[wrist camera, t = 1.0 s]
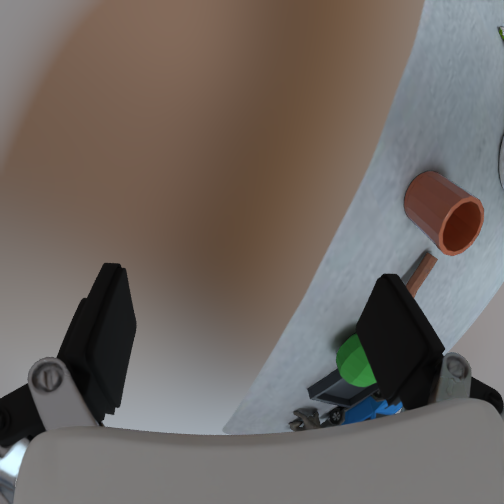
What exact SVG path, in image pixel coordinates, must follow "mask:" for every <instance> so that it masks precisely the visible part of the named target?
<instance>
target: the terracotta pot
mask: <svg viewBox="0 0 504 504" xmlns="http://www.w3.org/2000/svg"><path fill="white" fill-rule="evenodd" d="M404 208H405V212H406V215H407V216H408V218H409V219H410V220H411V221H412V222H413V223H414V224H415V225H416V226H417V227H418V228H419V229H420V230H421V231H422V232H423V233H424V234H425V235H426V236H427V237H428V238H429V239H430V240H431V241H432V242H433V243H434V244H435V245H436V246H437V247H438V248H439V249H440V250H441V251H442V252H443V254H446V255H450V256H454V255H457V254H460V253H462V252H464V251H465V250H466V249H467V248H469V247H470V246H471V245H472V244H473V242H474V241H475V239H476V238H477V236H478V235H479V233H480V230H481V227H482V224H483V221H484V208H483V206H482V203H481V201H480V200H479V199H478V198H476V197H475V196H474V195H472V194H471V193H469V192H468V191H466V190H465V189H463V188H462V187H460V186H459V185H457V184H456V183H454V182H453V181H451V180H450V179H448V178H447V177H445V176H443V175H441V174H439V173H438V172H435V171H427V172H424V173H422V174H420V175H418V176H417V177H416V178H415V179H414V180H413V181H412V182H411V184H410V185H409V187H408V189H407V192H406V195H405V199H404Z"/></svg>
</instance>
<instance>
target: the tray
mask: <svg viewBox="0 0 504 504" xmlns="http://www.w3.org/2000/svg"><path fill="white" fill-rule="evenodd" d="M378 390H379V387H378V385H377V382H376V383H374V384H371V385H369V386H366V387H358V386H355V385H352V384H349V383H348V382H347V381H346V380H345V379H344V378H342V377H341V375H340V373H339V370H338V369H337V370H335V371H334V372H332V373H331V374H329V375H328V376H326V377H325V378H323V379H322V380H320V381H319V382H317V383H316V384H314V385H313V386H311V387H310V388H308V393H309V397H310V399H312V400H316V401H320V402H324V403H329V404H333V405H338V406H343V407H347V408H351V407H353V406H354V405H356V404H358V403H359V402H361V401H362V400H364V399H366V398H367V397H369V396H370V395H372V394H373V393H375V392H376V391H378Z"/></svg>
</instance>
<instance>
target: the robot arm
mask: <svg viewBox="0 0 504 504" xmlns="http://www.w3.org/2000/svg"><path fill="white" fill-rule="evenodd" d="M499 173H500V180H501V184H502V187H503V189H504V137H503V141H502V145H501V151H500V159H499ZM135 333H136V318H135V314H134V310H133V304H132V300H131V294H130V289H129V283H128V278H127V272H126V269H125V268H122V267H121V265H120V264H118V263H104V264H103V266H102V268H101V270H100V272H99V274H98V276H97V278H96V280H95V282H94V284H93V286H92V289H91V291H90V293H89V295H88V297H87V298H83V299H82V300H81V302H80V304H79V305H78V308H77V310H76V312H75V314H74V316H73V319H72V321H71V323H70V326H69V328H68V330H67V333H66V335H65V338H64V340H63V343H62V345H61V347H60V350H59V353H58V355H57V358H54V357H46V358H43V359H40V360H39V361H37V362H36V363H35V364H34V365H33V366H32V367H31V369H30V371H29V373H28V383H27V384H26V385H24V386H22V387H20V388H18V389H16V390H15V391H13V392H11V393H9V394H8V395H6V396H4V397H2V398H0V504H504V406H503V405H504V404H503V400H502V397H501V395H500V394H499V393H498V392H497V391H496V390H495V389H493V388H491V387H489V386H488V385H486V384H484V383H482V382H480V381H479V380H477V379H475V378H473V377H471V367H470V365H469V363H468V361H467V360H466V359H465V358H464V357H463V356H461V355H460V354H457V353H454V352H450V353H447V354H446V355H445V356H443V354H442V353H443V352H444V350H445V348H444V346H443V344H442V342H441V341H440V339H439V337H438V336H437V334H436V332H435V331H434V329H433V328H432V326H431V324H430V323H429V321H428V320H427V318H426V316H425V315H424V313H423V312H422V310H421V309H420V307H419V305H418V304H417V302H416V301H415V299H414V298H413V296H412V295H411V293H410V292H409V290H408V289H407V288H406V286H405V285H404V283H403V282H402V280H401V279H400V277H399V276H398V275H397V274H383V275H382V276H381V277H380V278H378V279H377V281H376V284H375V286H374V288H373V290H372V293H371V295H370V297H369V299H368V302H367V304H366V306H365V308H364V310H363V312H362V314H361V317H360V319H359V321H358V323H357V325H356V333H357V336H358V338H359V340H360V343H361V345H362V347H363V350H364V352H365V355H366V357H367V360H368V362H369V364H370V367H371V369H372V372H373V374H374V377H375V380H376V382H377V385H378V387H379V390H380V392H381V395H382V397H383V399H385V400H386V401H387V404H388V406H391V405H395V404H399V403H400V402H402V405H403V406H402V409H401V412H400V413H397V414H393V415H389V416H385V417H381V418H376V419H372V420H367V421H362V422H357V423H352V424H346V425H340V426H334V427H328V428H321V429H313V430H305V431H296V432H285V433H272V434H254V435H193V434H192V435H191V434H174V433H161V432H149V431H139V430H130V429H121V428H112V427H105V426H104V424H103V422H102V420H104V417H105V413H106V414H112V415H114V412H115V407H117V408H119V407H120V404H121V399H122V393H123V388H124V383H125V378H126V373H127V368H128V364H129V359H130V354H131V350H132V345H133V341H134V337H135ZM16 479H17V481H16ZM15 481H16V487H15Z"/></svg>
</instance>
